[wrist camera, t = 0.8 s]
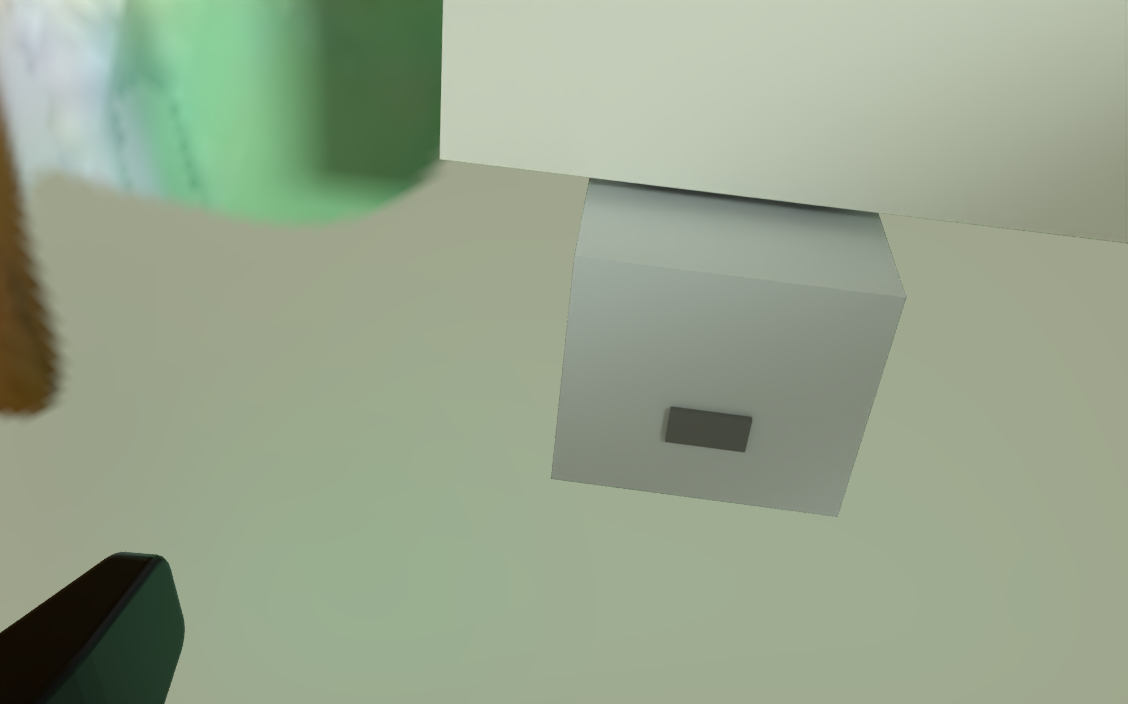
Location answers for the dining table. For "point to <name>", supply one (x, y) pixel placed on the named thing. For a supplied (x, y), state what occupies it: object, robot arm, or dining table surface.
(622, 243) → the block
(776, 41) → the power strip
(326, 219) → the dining table surface
